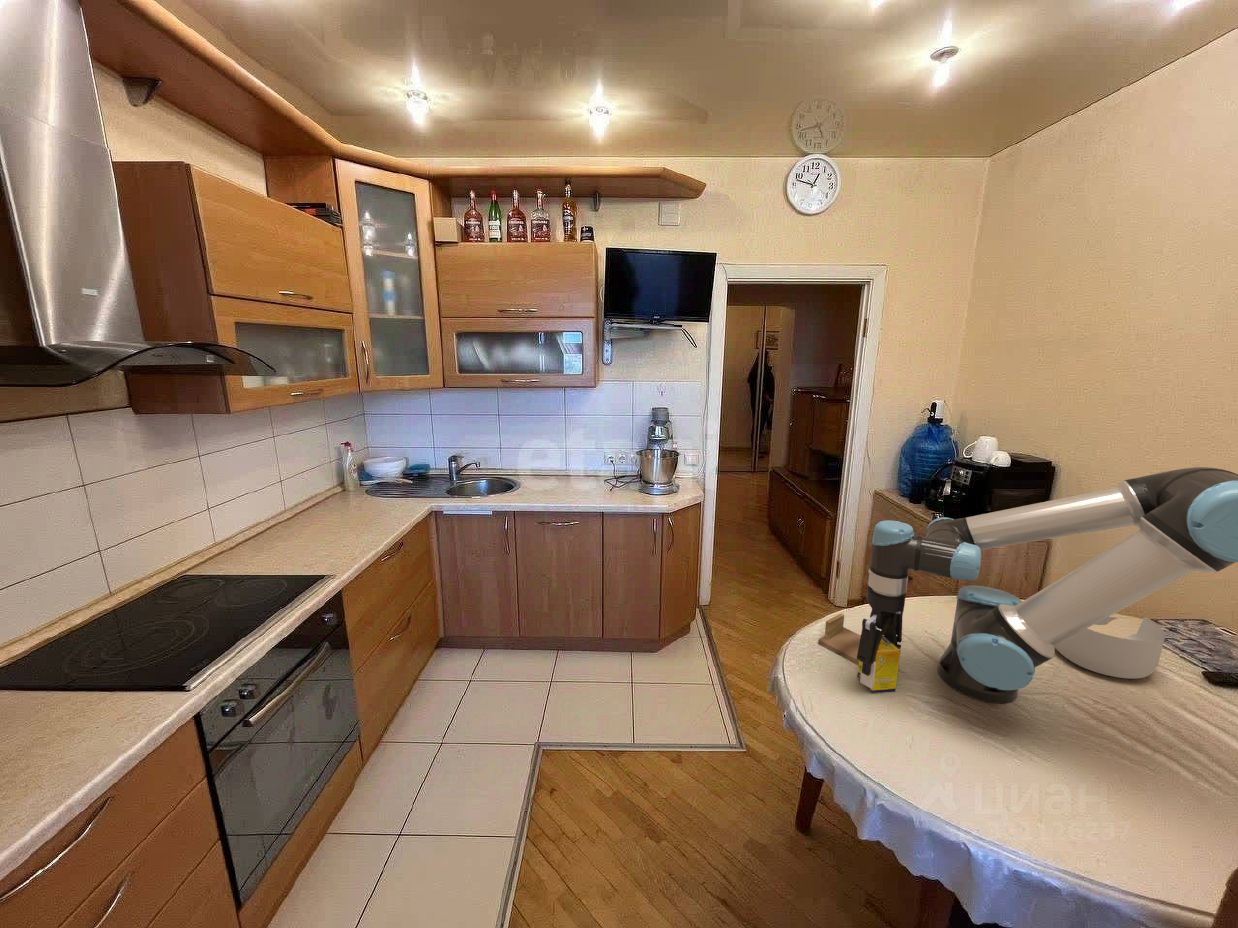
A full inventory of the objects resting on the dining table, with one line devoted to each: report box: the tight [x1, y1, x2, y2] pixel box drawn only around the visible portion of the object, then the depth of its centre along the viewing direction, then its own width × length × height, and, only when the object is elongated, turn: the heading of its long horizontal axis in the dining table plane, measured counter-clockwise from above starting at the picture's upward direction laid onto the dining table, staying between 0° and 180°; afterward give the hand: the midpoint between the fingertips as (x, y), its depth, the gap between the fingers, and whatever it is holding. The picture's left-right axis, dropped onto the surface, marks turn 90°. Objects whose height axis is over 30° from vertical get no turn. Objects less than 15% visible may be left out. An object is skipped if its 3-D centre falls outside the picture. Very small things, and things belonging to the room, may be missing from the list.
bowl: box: [1055, 616, 1166, 680], centre depth 118 cm, size 20×19×12 cm
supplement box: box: [857, 635, 901, 694], centre depth 111 cm, size 6×6×11 cm
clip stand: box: [817, 613, 861, 666], centre depth 124 cm, size 15×11×6 cm
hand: (876, 677), depth 112 cm, fingers closed on supplement box, 8 cm apart
